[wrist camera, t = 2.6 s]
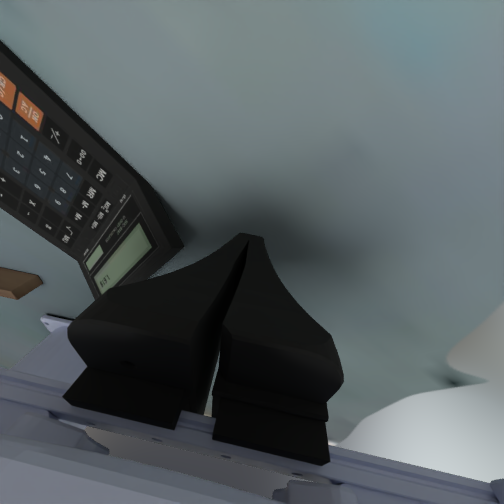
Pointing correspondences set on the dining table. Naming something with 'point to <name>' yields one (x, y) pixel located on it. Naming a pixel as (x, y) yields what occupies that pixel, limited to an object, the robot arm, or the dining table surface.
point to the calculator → (76, 185)
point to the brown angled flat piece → (17, 283)
